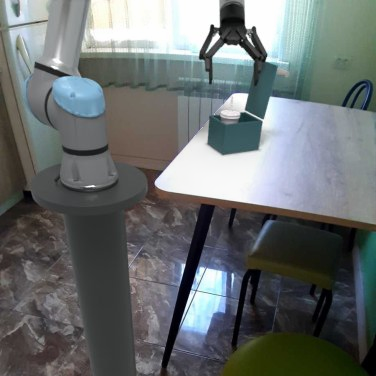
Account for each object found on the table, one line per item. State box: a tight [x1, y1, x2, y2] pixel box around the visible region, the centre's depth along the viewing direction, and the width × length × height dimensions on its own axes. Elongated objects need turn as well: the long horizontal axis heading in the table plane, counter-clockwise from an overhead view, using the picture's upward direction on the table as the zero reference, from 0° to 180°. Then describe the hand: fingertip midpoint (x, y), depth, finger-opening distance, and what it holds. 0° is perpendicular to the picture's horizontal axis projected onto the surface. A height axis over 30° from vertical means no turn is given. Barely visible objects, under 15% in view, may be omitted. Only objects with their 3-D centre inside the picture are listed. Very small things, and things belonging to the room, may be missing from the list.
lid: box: [244, 60, 291, 120], centre depth 130 cm, size 14×11×8 cm
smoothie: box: [219, 96, 240, 124], centre depth 131 cm, size 6×6×14 cm
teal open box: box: [207, 111, 263, 156], centre depth 134 cm, size 14×11×9 cm
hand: (233, 82), depth 121 cm, fingers open, 13 cm apart
